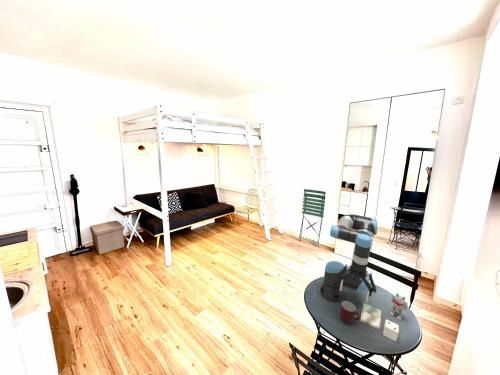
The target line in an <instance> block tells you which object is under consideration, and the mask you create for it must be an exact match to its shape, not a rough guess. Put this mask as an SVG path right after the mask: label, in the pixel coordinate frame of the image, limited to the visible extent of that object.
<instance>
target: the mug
mask: <svg viewBox="0 0 500 375" xmlns="http://www.w3.org/2000/svg"><path fill="white" fill-rule="evenodd" d="M355 316H357V317H355ZM340 317H341V319H342V321H343V322H344V323H346V324H349V323H351V322H352V321H353V320H354V321H360V320H361V314H359V312H357V306H355V304H354V303H353V302H350V301H348V300H342V301H341V302H340Z"/></svg>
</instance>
